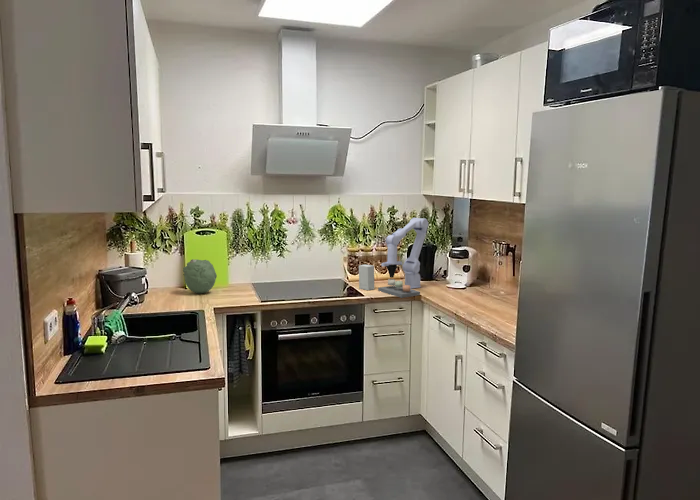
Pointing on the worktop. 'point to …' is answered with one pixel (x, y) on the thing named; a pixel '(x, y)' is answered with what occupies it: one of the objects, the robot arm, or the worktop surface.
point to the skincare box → (366, 277)
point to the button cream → (391, 281)
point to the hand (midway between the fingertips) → (391, 277)
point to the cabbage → (199, 275)
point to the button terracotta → (406, 288)
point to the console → (398, 291)
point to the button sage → (398, 284)
